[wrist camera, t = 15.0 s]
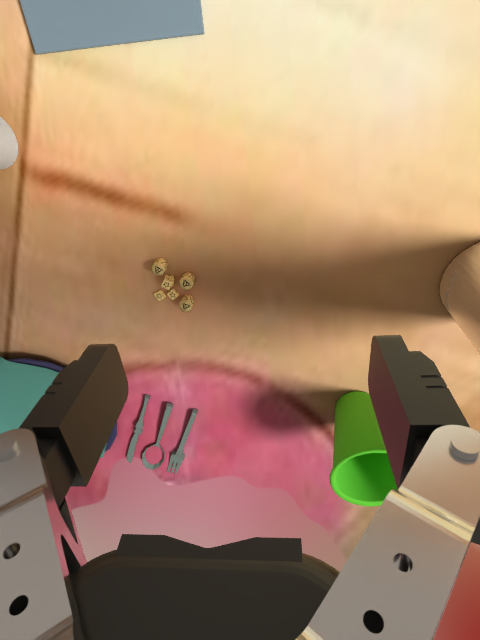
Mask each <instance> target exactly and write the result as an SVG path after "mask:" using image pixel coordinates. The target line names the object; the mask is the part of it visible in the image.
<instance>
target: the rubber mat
mask: <svg viewBox="0 0 480 640" xmlns="http://www.w3.org/2000/svg"><path fill="white" fill-rule="evenodd" d="M20 3H21V6H22V9H23V13H24V16H25V19H26V23H27V26H28V29H29V33H30V36H31V39H32V43H33V46H34V49H35V53H36V54H46V53H54V52H62V51H70V50H78V49H86V48H94V47H102V46H110V45H119V44H127V43H135V42H143V41H151V40H159V39H167V38H175V37H183V36H192V35H200V34H204V27H203V18H202V10H201V1H200V0H20Z"/></svg>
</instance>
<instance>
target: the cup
mask: <svg viewBox="0 0 480 640" xmlns="http://www.w3.org/2000/svg"><path fill="white" fill-rule="evenodd" d="M330 484H331V486H332V489H333V490H334V491H335V493H336V494H337V495H338V496H339V497H341V498H342V499H344V500H345V501H348V502H350V503H353V504H357V505H362V506H381V505H382V503H383V501H384V500H385V498H386V497H387V495H388V494H389V492H390V491H391V490H392V489H396V490H398V489H397V485H396V482H395V479H394V475H393V472H392V468H391V465H390V462H389V458H388V455H387V452H386V448H385V445H384V442H383V438H382V435H381V432H380V428H379V425H378V421H377V418H376V415H375V411H374V408H373V405H372V401H371V398H370V394H368V393H366V392H361V391H354V392H349V393H346V394H345V395H343V396H342V397H341V398H340V399H339V400H338V402H337V404H336V407H335V428H334V455H333V469H332V471H331V473H330Z"/></svg>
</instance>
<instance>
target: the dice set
mask: <svg viewBox="0 0 480 640" xmlns="http://www.w3.org/2000/svg"><path fill="white" fill-rule="evenodd" d="M167 267H168V264H167V261H166V260H164V259H163V258H159V259H156V261H155V262H154V264H153V265H152V267H151V270H152V273H154V274H155V275H156V276H160V275H163V274H164V272H165V271H166V269H167ZM174 280H175V279H174V276H172V275H165V276H164V281H163V283H162V285H161V287H163V288H165V289H167V290H170V288H171V286H172V285H174ZM194 282H195V277H194V275H193V274H191V273H190V272H189V273H184V274H183V276H182V277H181V279H180V281H179V283H180V287H181V288H183V289H184V290H190V289H191V288H192V286H193V285H194ZM167 295H168V296H169V297H170V298H171V299H172V300H174V299H175V298H177V297H178V296H179V293H178V292H177V291H176V290H175V289H174V288H173V289H171V290H170V291H169V292H168V293H167ZM154 296H155V297H156V298H157V300H158V301H160V300H162V299H164V298H165V297H166V295H165V294H164V292H163V291H162V290H159V291H157V292H156V293H154ZM193 304H194V298H193V297H191V296H190V295H184V296H183V297H182V298H181V300H180V303H179V308H180V309H181V310H182V311H183V312H189V311H190V310H191V309H192V307H193Z"/></svg>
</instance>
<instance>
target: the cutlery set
mask: <svg viewBox="0 0 480 640" xmlns="http://www.w3.org/2000/svg"><path fill="white" fill-rule="evenodd" d="M62 369H64V367H62V366H59V365H57V364H54V363H52V362H48V361H42V360H36V359H30V358H16V359H4V358H2V357H1V356H0V434H1V433H3V432H6V431H9V430H13V429H18V428H19V427H20V425H21V424H22V423H23V421H24V420H25V419H26V417H27V416H28V415H29V413H30V412H31V410H32V409H33V408H34V406H35V405H36V404H37V402H38V401H39V400H40V398H41V397H42V395H45V391H46V390H47V389H48V387H49V386H50V385H52V382H53V380H54V379H55V378H56V376H57V375H58V374H59V372H60V371H61V370H62ZM150 396H151V395H147V394H145V397H144V398H145V401H144V405H143V409H142V412H141V415H140V418H139V420H138V421H137V423H136V426H135V428H134V431H133V432H135V433H134V435H133V437H132V440H131V443H130V446H129V450H128V454H127V460H128V462H129V463H131V461H132V458H133V454H134V450H135V447H136V443H137V440H138V436H139V434H141V433H142V428H143V425H144V423H143V418H144V414H145V409H146V406H147V402H148V399H150ZM172 408H173V404H171V403H167V405H166V410H165V413H164V417H163V421H162V424H161V428H160V431H159V435H158V439H157V442H156V443H155V444H154V445H151V446H157V447H160V448H161V446H160V443H159V442H160V440H161V437H162V434H163V432H164V429H165V426H166V424H167V421H168V418H169V415H170V413H171V409H172ZM197 411H198V410H197V409H193V411H192V413H191V416H190V419H189V421H188V424H187V426H186V429H185V432H184V434H183V437H182V440H181V442H180V445H179V448H177V451H172V454H171V458H170V462H169V466H168V470H167V472H169V469H170V467H171V465H172V463H173V466H172V470H171V473H172V472H173V470H174V468H175V466H176V464H177V467H176V470H175V474H176V473H177V471H178V469H179V467H180V465H181V463H182V461H183V460H184V458H185V454H184V453H183V448H184V445H185V442H186V440H187V437H188V434H189V432H190V429H191V427H192V424H193V422H194V419H195V416H196V414H197ZM116 436H117V422H116V424H115V426H114V428H113V430H112V432H111V435H110V437H109V439H108V441H107V443H106V445H105V448H104V450H103V452H102V454H101V456H100V457H104V453H105V452H106V451H107V450H108V449H110V447H111V445H112V443H113V442H114V440H115V438H116ZM151 446H149V447H151ZM149 447H147V448H146V450H147V449H148V448H149ZM161 449H162V448H161ZM146 450H145V451H146ZM145 451H144V453H143V454H142V462H143V464H144V465H145V467H146V468H148V469H152V470H153V469H155V468H158V467H160V465H161V464H162V463H163V461H164V457H163V459H162V460H161V462H159V463H157V464H155V465H153V464H150V463H148V462H147V460H146V459H145ZM162 451H163V449H162ZM163 455H164V451H163ZM173 461H174V462H173ZM177 462H178V463H177Z"/></svg>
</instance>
